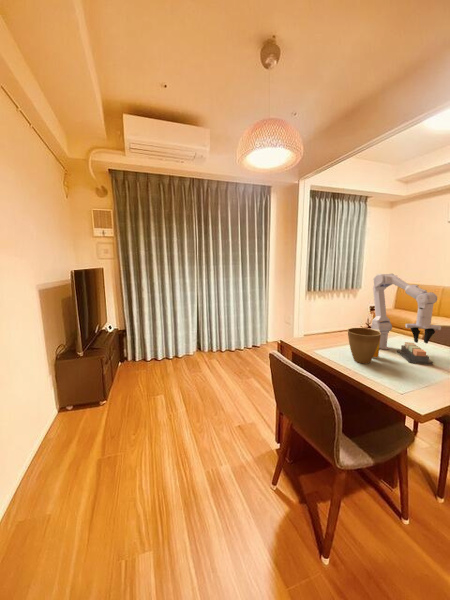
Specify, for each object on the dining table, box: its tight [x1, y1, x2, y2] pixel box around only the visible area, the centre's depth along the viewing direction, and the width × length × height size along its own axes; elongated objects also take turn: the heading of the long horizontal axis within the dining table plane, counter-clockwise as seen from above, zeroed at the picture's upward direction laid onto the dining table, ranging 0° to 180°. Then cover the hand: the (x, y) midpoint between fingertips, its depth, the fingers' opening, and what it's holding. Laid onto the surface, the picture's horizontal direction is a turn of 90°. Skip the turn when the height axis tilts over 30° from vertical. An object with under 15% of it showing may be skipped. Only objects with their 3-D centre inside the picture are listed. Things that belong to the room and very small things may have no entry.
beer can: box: [371, 328, 381, 359], centre depth 132 cm, size 6×6×15 cm
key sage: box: [408, 345, 422, 352], centre depth 130 cm, size 4×4×3 cm
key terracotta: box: [413, 348, 427, 357], centre depth 125 cm, size 4×4×3 cm
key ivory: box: [404, 342, 418, 349], centre depth 135 cm, size 4×4×3 cm
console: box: [396, 344, 434, 366], centre depth 131 cm, size 10×16×4 cm, turn 164°
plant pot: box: [347, 327, 381, 365], centre depth 126 cm, size 15×15×16 cm
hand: (420, 342), depth 124 cm, fingers open, 4 cm apart
